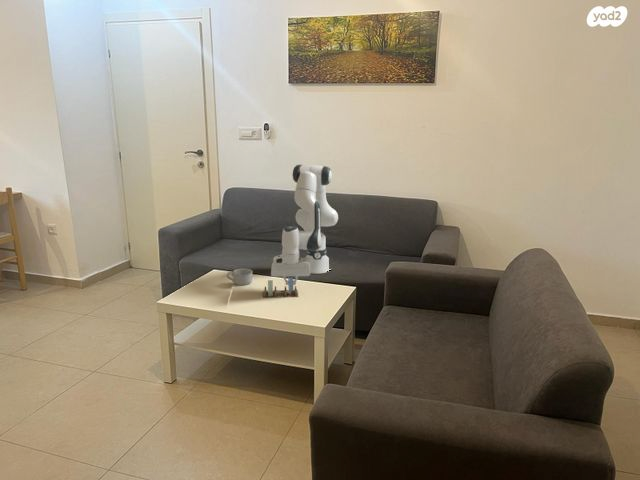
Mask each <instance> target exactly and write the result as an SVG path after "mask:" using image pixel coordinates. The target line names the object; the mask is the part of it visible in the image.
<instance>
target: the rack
mask: <svg viewBox="0 0 640 480" xmlns="http://www.w3.org/2000/svg"><path fill="white" fill-rule="evenodd" d="M299 297H300V296H299V291H298V289H297V286H296V285H294V289H293V290H289V289H287V285H284V289H281V290H278V289H277V286H274V289H273V296H268V290H267V286H264V290H263V291H262V299H281V298H283V299H285V298H299Z"/></svg>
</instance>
